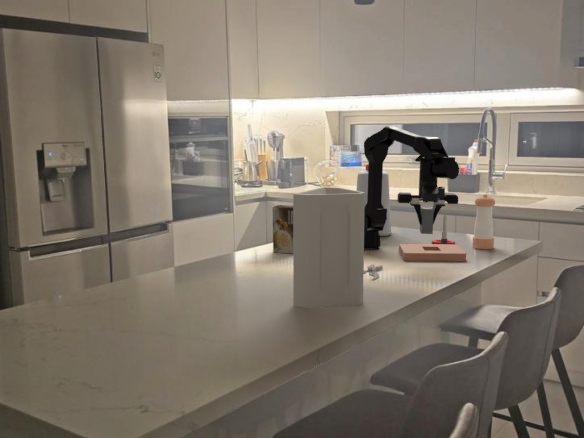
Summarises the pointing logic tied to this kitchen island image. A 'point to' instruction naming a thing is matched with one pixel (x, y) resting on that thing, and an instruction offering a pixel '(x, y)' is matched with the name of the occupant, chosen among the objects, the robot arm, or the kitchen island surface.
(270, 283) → the kitchen island surface
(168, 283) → the kitchen island surface
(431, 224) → the dark gray brick
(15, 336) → the kitchen island surface
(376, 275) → the pliers
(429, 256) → the tan flat board
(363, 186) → the plastic bottle
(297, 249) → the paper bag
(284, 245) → the coffee box
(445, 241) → the tow hook
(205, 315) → the kitchen island surface
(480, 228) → the pepper shaker
